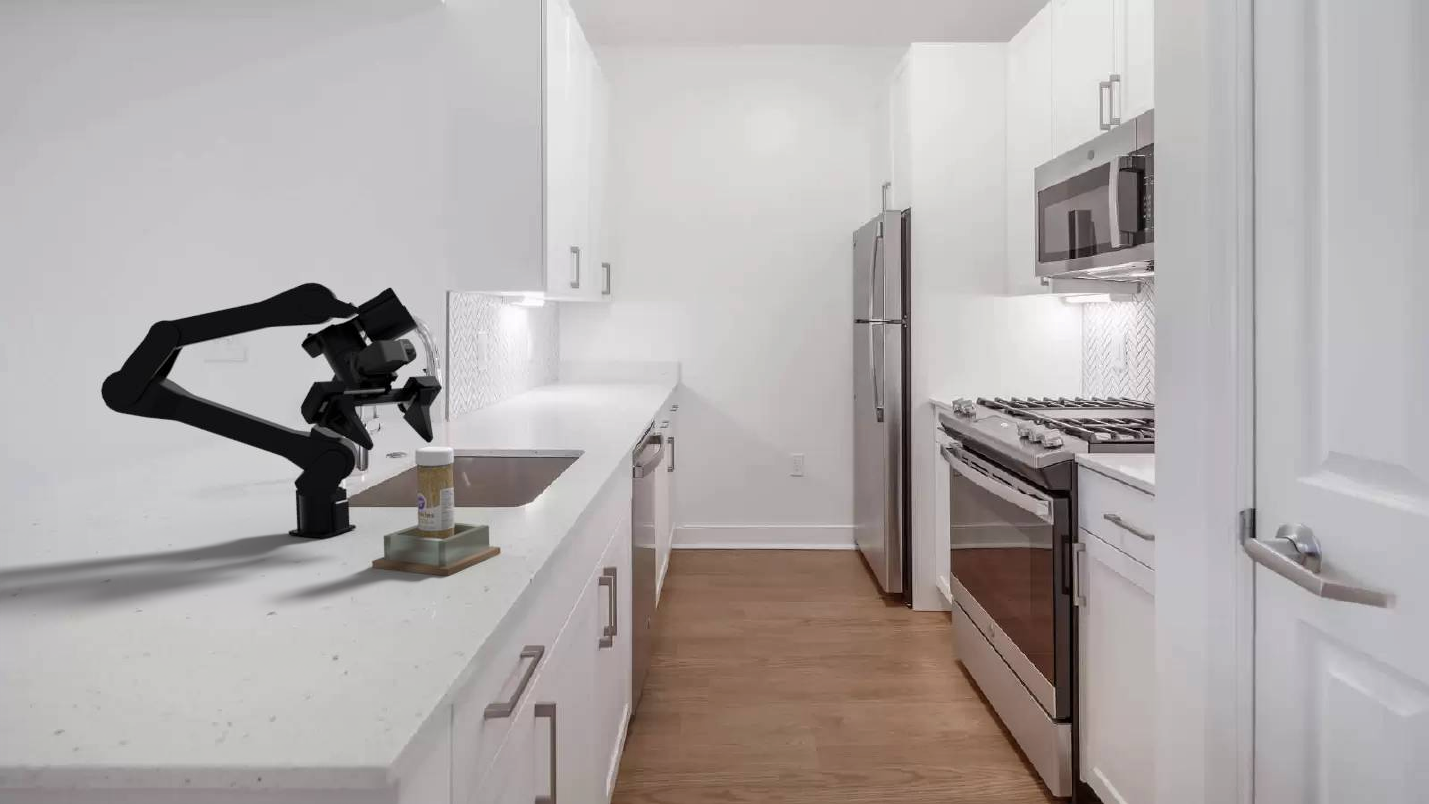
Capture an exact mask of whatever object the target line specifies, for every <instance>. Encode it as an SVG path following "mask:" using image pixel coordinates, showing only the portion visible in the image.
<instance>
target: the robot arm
mask: <svg viewBox="0 0 1429 804" xmlns="http://www.w3.org/2000/svg"><path fill="white" fill-rule="evenodd" d="M333 319H345V320H346V321H343V322H340V323H337V324H335V323H332V324H330V325H328V326H326V327H324V328H322V329H321V330H319V331H317V332H313V333H311V332H307V335H306V337H305V338H304V340H303V341H302V343H301V348H302V349H303V350H304V351H305V353H307V354H308V355H309V356H310V358H311V359H316V358H318V357H319V356H321V355H323V356H324V358H325V359H326V361H327V363H328V365H329V367H330V368H331V370H332V371H333V373H334V374H333V377H332V378H331V380H326V381H324V380H323V381H314V382H313V383H312V385H311V387H310V388H309V390H308V393H307V394H306V396H305V398H304V400H303V402H302V404H301V406H300V413H301V416H302V417H303V419H304V421H305V423H306V424H308V425H313V426H312V427H311V428H310V431H307V430H306V431H305V430H299V429H298V430H297V429H294V428H290V427H287V426H286V425H282V424H279V423H277V422H274V421H271V420H267V419H265V418H261V417H260V416H256V415H254V414H250V413H247V412H244V411H242V410H238V409H236V408H234V407H230V406H227V405H224V404H221V403H219V402H216V401H212V400H210V399H207V398H205V397H201V396H198V395H196V394H193V393H191V392H189V391H188V390H187V389H185V388H184V387H182V386H181V385H180V384H178V383H176V382H175V381H174V380H171V379H170V378H168V377H169V375H170V373H171V372H172V369H173V368H174V366H175V363H176V361H177V360H178V358H179V356H180V353H181V352H182V350H183V349H184V347H186V346H187V347H188V346H192V345H196V344H201V343H206V342H210V341H214V340H215V341H216V340H218V339H219V340H220V339H224V338H228V337H233V336H237V335H241V334H247V333H251V332H255V331H261V330H264V329H265V330H266V329H269V328H278V327H280V328H281V327H299V326H300V327H301V326H302V327H303V326H315V325H316V326H318V325H319V326H321V325H324V324H326V323H330V322H331V321H332V320H333ZM348 319H349V320H348ZM417 328H419V325H418V324H417V322H416V321H415V319H414V318H413V316H412V314H411V313H410V312H409V310H408V308H407V307H406V305H403V303H402V302H401V300H400V298H399V297H398V296H397V294H396V292H395V291H394V289H393V287H387V288H385V289H384V290H383V291H381V292H380V293H379V294H378V295H377V296H374V297H373V298H370V299H369V300H367V301H365V302H363V303H362V304H360V305H357V306H356V305H355V304H354V303H353V302H348V303H347V302H344V301H343V300H340V299H338V297H337V296H336V294H335V292H334V291H333V290H332V289H331V288H329V287H327V286H325V285H323V284H321V283H318V282H305V283H303V284H300V285H297V286H295V287H292V288H289V289H287V290H285V291H282V292H279V293H277V294H275V295H273V296H271V297H269V298H266V299H263V300H261V301H257V302H253V303H248V304H243V305H238V306H234V307H229V308H225V309H221V310H215V311H210V312H205V313H200V314H196V315H191V316H190V315H189V316H186V317H181V318H177V319H172V320H170V319H169V320H168V319H167V320H164V319H163V320H158V321H157V322H154V324H152V325H151V326H150V328H149V330H148V332H147V334H146V335H145V336H144V338H143V340H141V342H140V343H139V345H138V346H137V347H136V348H135V349H134V350H133V352H132V353H131V354H130V355H129V357H128V358H127V359H126V360H125V362H124V363H123V365H122V366H121V368H120V370H117V371H115V372H112V373H111V374H110V375H108V376H106V378H105V379H104V381H102V383H101V384H102V386H101V389H100V393H101V398H102V400H103V401H104V404H105V406H107V407H108V408H109V409H110V410H112V411H113V412H115V413H120V414H123V415H130V416H134V417H135V416H136V417H140V418H148V419H155V420H165V421H174V422H179V423H182V424H185V425H188V426H191V427H192V428H197V429H200V430H201V431H202V430H203V431H206V432H209V433H212V434H215V435H217V436H221V437H224V438H225V439H226V438H227V439H229V440H232V441H236V442H238V443H241V444H243V445H247V446H251V447H254V448H256V449H259V450H262V451H265V452H268V453H271V454H274V455H277V456H280V457H283V458H285V460H288V461H289V462H291V463H293V464H294V465H295V466H296V467H298V468H299V469H300V470H303V471H302V472H301V473H300V474H299V475H298V477H297V478H296V479H295V481H294V485H295V487H296V489H295V505H296V507H295V509H296V528H295V529H291V530H288V535H290V536H300V537H310V538H319V539H324V538H328V537H332V536H335V535H338V534H342V533H345V532H348V531H351V530H355V529H356V528H357V526H356V524H350V505H349V504H350V503H349V502H350V501H349V499H347V498H348V496H347V493H348V492H347V488H343V487H342V486H340V484H341V483H342V481H343V480H346V479H347V478H348V477H349V476H350V475H351V474H352V473H353V471H354V470H355V467H356V465H357V462H358V459H359V458H358V457H359V453H358V450H357V447H356V445H355V444H357V445H358V446H359V447H361V448H364V449H365V450H366V451H371V450H372V449H373V448H374V445H375V444H374V442H373V440H372V437H371V435H370V433H369V431H368V429H367V428H366V426H365V424H364V423H363V421H362V419H361V417H360V416H359V414H358V412H357V410H356V407H358V408H359V407H375V406H387V405H388V406H389V405H397V408H398V409H399V411H400V412H401V413H403V414H404V415H403V416H402V418H403V419H404V421H405V422H406V423H408V425H409V426H410V427H411V428H412V429H413V431H415V432H416V433H417V434H418V435H419V437H421V438H422V440H423V441H425V442H426V443H428V444H429V443H431V442H432V441H433V439H434V433H433V428H432V427H433V426H432V420H431V414H430V413H431V411H430V408H431V406H432V404H433V403H434V402H435V400H436V398H437V397H438V395H439V393H440V392H441V390H442V389H443V386H442V385H441V383H440V382H439V380H438V379H437V377H436V376H435V375H418V376H417V375H415V376H409V377H408V378H407V380H406V382H405V383H404V385H403V387H396V388H393V386H392V383H395V382H396V381H397V379H398V377H399V374H398V373H397V371H398V370H400V369H401V368H403V366H408V365H410V364H411V362H413V361H415V360H416V359H417V355H418V354H417V351H416V348H415V346H414V344H413V343H412V341H410V339H409V338H401V337H404V336H405V335H407V334H409V333H410V332H412V331H414V330H417ZM362 332H364V334H365V335H366V337H367V338H368V339H369V342H371V343H370V344H369V345H368V344H367V342H366V341H365V339H364V338H363V336H362V334H361V333H362Z"/></svg>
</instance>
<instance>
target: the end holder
mask: <svg viewBox="0 0 1429 804" xmlns="http://www.w3.org/2000/svg"><path fill="white" fill-rule="evenodd" d="M383 554H384V555H383V556H382V557H380V558H376V559H375V560H372V561H371V564H372V565H371V567H372V568H373V569H374V568H375V569H383V570H391V571H399V572H409V573H418V574H429V575H436V576H444V577H448V576H452V575H453V574H456V573H458V572H461V571H463V570H466V569H467V568H470V567H472V566H474V565H477V564H479V563H481V562H484V561H487V560H488V559H491V558H493V557H496V556H498V555H500V554H501V547H500V546H493V545H490V525H488V524H487V525H486V524H474V523H466V522H465V523H463V522H454V536H451V537H448V538H445V539H437V538H427V537H419V528H418V524H416V525H415V524H414V525H413V526H409V527H407V528H403V529H401V530H396V531H394V532H391V533H388V534H384V535H383Z"/></svg>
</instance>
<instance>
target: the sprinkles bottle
mask: <svg viewBox="0 0 1429 804" xmlns="http://www.w3.org/2000/svg"><path fill="white" fill-rule="evenodd" d="M454 453H455V452H454V448H453V447H449V446H440V445H439V446H437V445H436V446H425V447H420V448H417V449H416V450H415V458H414V459H415V464H416V468H417V525H418V528H419V537H427V538H437V539H445V538H448V537H451V536H454V523H455V494H454V493H455V491H454V490H455V489H454V475H453V466H454V464H453V463H454V462H455V459H454V455H455V454H454Z"/></svg>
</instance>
